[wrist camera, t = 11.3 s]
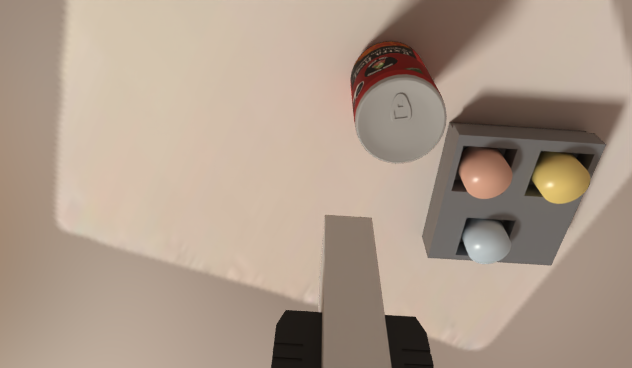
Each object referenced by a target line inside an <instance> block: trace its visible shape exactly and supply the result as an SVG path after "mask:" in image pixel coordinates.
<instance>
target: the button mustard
mask: <svg viewBox="0 0 632 368" xmlns="http://www.w3.org/2000/svg"><path fill="white" fill-rule="evenodd" d="M531 180H532V181H533V183H534V184H535V185H536V187H537V188H538V190H539V191H540V193H541V194H542V195H543V197H544V198H545V199H546V200H547V201H549V202H551V203H556V204H563V203H568V202H571V201H573V200H575V199H577V198H579V197H580V196H581V195H582V194H583V193H584V192H585V191H586V190H587V188H588V186H589V184H590V174H589V172H588V171H587V170H586V168H585V167H584V166H583V165H582V164H581V163H580V162H579V161H578V160H577V159H576V158H575V157H574V155H573V154H572V153H566V152H551V151H544V152H542V153H540V154H539V157H538V160H537V162H536V165H535V168H534V171H533V173H532V176H531Z"/></svg>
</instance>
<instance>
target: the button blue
mask: <svg viewBox="0 0 632 368" xmlns="http://www.w3.org/2000/svg"><path fill="white" fill-rule="evenodd" d="M461 237H462V239H463V242H464V245H465V247H466V250H467V252H468V255H469V257H470V258H471V259H472V260H473V261H475V262H477V263H480V264H491V263H495V262H498V261H500V260H501V259H503V258H504V257H505V256H506V255H507V254H508V253H509V251H510V249H511V241H510V239H509V237H508V235H507V233H506V231H505V229H504V227H503V225H502V223H501V222H500V220H497V219H482V218H467V219H466V222H465V225H464V228H463V232H462V235H461Z"/></svg>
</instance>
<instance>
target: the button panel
mask: <svg viewBox="0 0 632 368" xmlns="http://www.w3.org/2000/svg"><path fill="white" fill-rule="evenodd" d="M469 146H475V147H490V148H497V149H498V150H499V151H500V153H501V154H502V156H503V157H504V159H505V160H506V162H507V163H508V165H509V166H510V168H511V170H512V175H513V176H512V181H511V184H510V185H509V187H508V188H507V189H506V190H505V191H504V192H503V193H501V194H500V195H498V196H496V197H493V198H489V199H479V198H476V197H473V196H472V195H470V194H469V193H468V192H467V190H466V188H465V186H464V184H463V182H462V179H461V177H460V175H459V173H458V171H457V168H458V164H459V161H460V157H461V153H462V152H463V151H464V150H465V149H466V148H468V147H469ZM605 146H606V144H605V143H604V142H603V141H602V140H601V139H600V138H599V137H597V136H596V135H595V134H594V133H587V132H586V131H571V130H556V129H541V128H526V127H511V126H496V125H481V124H466V123H451V122H449V127H448V131H447V135H446V139H445V143H444V147H443V152H442V156H441V160H440V164H439V168H438V173H437V177H436V181H435V185H434V189H433V193H432V198H431V202H430V206H429V210H428V214H427V218H426V223H425V227H424V231H423V235H422V238H423V242H424V245H425V249H426V253H427V256H428V258H440V259H456V260H472V259H471V258H470V257H469V255H468V252H467V250H466V247H465V245H464V242H463V239H462V237H461V235H462V232H463V228H464V225H465V222H466V219H467V218H482V219H497V220H500V222H501V223H502V225H503V227H504V229H505V231H506V233H507V235H508V237H509V239H510V241H511V249H510V251H509V253H508V254H507V255H506V256H505V257H504V258H503V259H501V260H500V261H498V262H504V263H521V264H537V265H552V263H553V260H554V258H555V256H556V254H557V252H558V249H559V247H560V245H561V243H562V241H563V238H564V236H565V234H566V232H567V230H568V227H569V225H570V223H571V221H572V219H573V216H574V214H575V212H576V210H577V208H578V205H579V203H580V201H581V199H582V197H583V194H584V193H583V194H582V195H581V196H580V197H579V198H577V199H575V200H573V201H571V202H568V203H563V204H556V203H551V202H549V201H547V200H546V199H545V198H544V197H543V195H542V194H541V193H540V191H539V190H538V188H537V187H536V185H535V184H534V183H533V181H532V180H531V176H532V173H533V171H534V168H535V165H536V162H537V160H538V157H539V154H540V153H542V152H544V151H551V152H566V153H572V154H573V155H574V157H575V158H576V159H577V160H578V161H579V162H580V163H581V164H582V165H583V166H584V167H585V168H586V170H587V171H588V172H589V174H590V179H591V177H592V175H593V172H594V170H595V168H596V166H597V164H598V161H599V159H600V157H601V155H602V153H603V150H604V148H605ZM472 261H473V260H472Z"/></svg>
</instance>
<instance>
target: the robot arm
mask: <svg viewBox="0 0 632 368" xmlns="http://www.w3.org/2000/svg"><path fill="white" fill-rule="evenodd" d="M271 368H433V361H432V356H431V354H430V347H429V343H428V338H427V333H426V332H425V330H424V329H423V327H422V326H421V324H420V323H419V321H418V320H417V319H416V317H409V316H392V315H385V314H384V307H383V299H382V292H381V284H380V276H379V269H378V261H377V254H376V246H375V239H374V231H373V223H372V218H366V217H351V216H335V215H325V220H324V231H323V242H322V254H321V265H320V276H319V312H308V311H292V310H286V311H285V312H284V314H283V315H282V317H281V318H280V320H279V322H278V323H277V325H276V332H275V341H274V348H273V357H272V365H271Z"/></svg>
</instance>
